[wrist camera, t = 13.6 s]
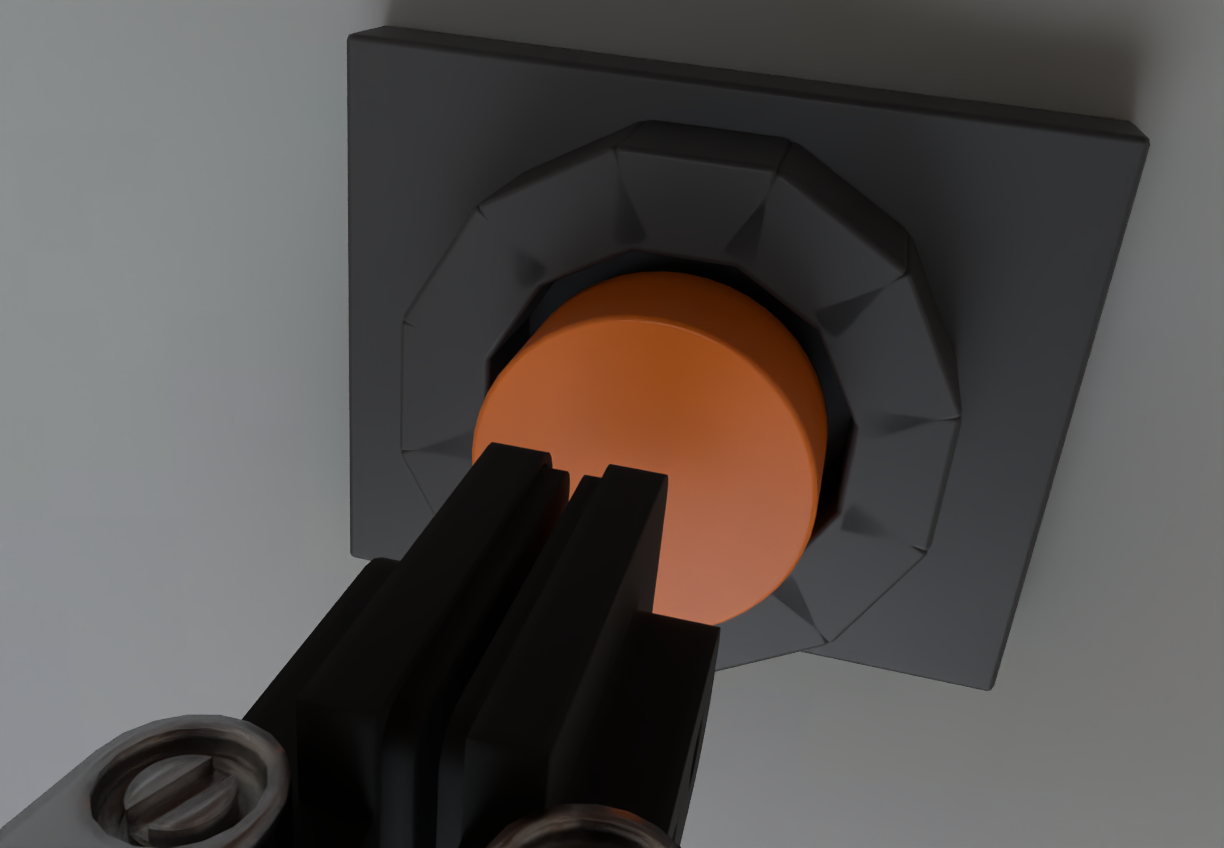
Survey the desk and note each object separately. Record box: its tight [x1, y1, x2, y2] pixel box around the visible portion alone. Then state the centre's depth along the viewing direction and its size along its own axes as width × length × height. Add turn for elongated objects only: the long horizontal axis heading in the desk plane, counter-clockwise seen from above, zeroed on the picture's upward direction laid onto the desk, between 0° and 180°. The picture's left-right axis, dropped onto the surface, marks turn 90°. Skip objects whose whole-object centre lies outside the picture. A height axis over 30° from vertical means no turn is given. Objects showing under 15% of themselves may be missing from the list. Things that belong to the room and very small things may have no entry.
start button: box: [472, 271, 828, 625], centre depth 14 cm, size 4×4×2 cm
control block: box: [347, 26, 1150, 691], centre depth 16 cm, size 10×8×3 cm
